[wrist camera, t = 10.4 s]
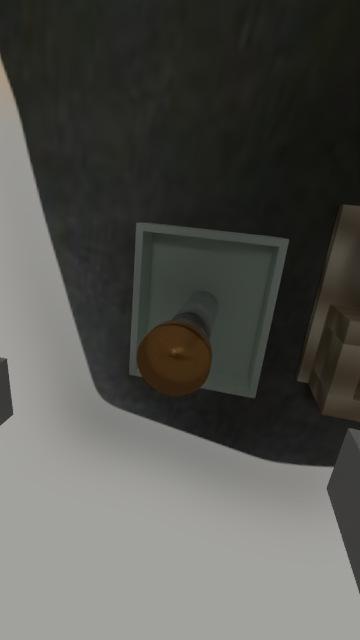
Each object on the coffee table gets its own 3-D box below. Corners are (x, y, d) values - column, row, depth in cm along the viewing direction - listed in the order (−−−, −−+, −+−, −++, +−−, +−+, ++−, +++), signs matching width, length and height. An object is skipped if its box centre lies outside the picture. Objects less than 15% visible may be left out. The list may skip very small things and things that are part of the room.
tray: (150, 222, 27) (136, 222, 24) (282, 237, 26) (289, 239, 22) (141, 357, 32) (128, 374, 28) (252, 377, 30) (255, 398, 27)
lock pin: (184, 283, 28) (139, 320, 15) (226, 289, 27) (215, 333, 15) (180, 323, 29) (134, 388, 16) (220, 329, 28) (205, 403, 16)
